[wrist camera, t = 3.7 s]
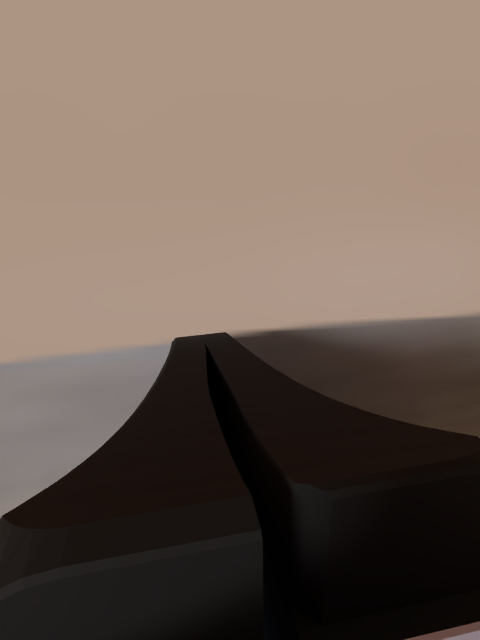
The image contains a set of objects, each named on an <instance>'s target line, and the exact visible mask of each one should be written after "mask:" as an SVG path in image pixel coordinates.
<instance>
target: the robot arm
mask: <svg viewBox="0 0 480 640" xmlns="http://www.w3.org/2000/svg"><path fill="white" fill-rule="evenodd" d="M0 640H480V438H478V437H477V436H471V435H466V434H460V433H455V432H450V431H444V430H439V429H433V428H428V427H422V426H418V425H413V424H409V423H406V422H402V421H398V420H394V419H390V418H386V417H383V416H379V415H376V414H373V413H370V412H366V411H363V410H360V409H358V408H355V407H352V406H349V405H347V404H344V403H341V402H338V401H336V400H333V399H331V398H329V397H326V396H324V395H322V394H320V393H318V392H316V391H313V390H311V389H309V388H307V387H305V386H303V385H301V384H299V383H297V382H296V381H294V380H292V379H290V378H289V377H287V376H285V375H284V374H282V373H280V372H279V371H277V370H275V369H274V368H272V367H271V366H269V365H268V364H266V363H265V362H264V361H262V360H261V359H259V358H258V357H257V356H255V355H254V354H252V353H251V352H250V351H249V350H247V349H246V348H245V347H243V346H242V345H241V344H240V343H238V342H237V341H236V340H235V339H234V338H232V337H231V336H230V335H229V334H227V333H226V332H223V333H214V334H206V335H196V336H187V337H178V338H175V339H174V341H173V342H172V345H171V349H170V352H169V355H168V357H167V359H166V362H165V364H164V366H163V368H162V370H161V372H160V374H159V376H158V377H157V379H156V381H155V383H154V384H153V386H152V387H151V389H150V390H149V392H148V393H147V395H146V397H145V398H144V400H143V401H142V402H141V404H140V405H139V406H138V408H137V409H136V410H135V412H134V413H133V414H132V415H131V416H130V418H129V419H128V420H127V421H126V422H125V424H124V425H123V426H122V427H121V428H120V429H119V430H118V431H117V432H116V433H115V434H114V435H113V436H112V437H111V438H110V439H109V440H108V441H107V442H106V443H105V444H104V445H103V446H102V447H101V448H99V449H98V450H97V451H96V452H95V453H94V454H92V455H91V456H90V457H89V458H87V459H86V460H85V461H84V462H83V463H81V464H80V465H79V466H77V467H76V468H75V469H73V470H72V471H71V472H69V473H68V474H67V475H65V476H64V477H62V478H61V479H60V480H58V481H57V482H55V483H54V484H52V485H51V486H49V487H48V488H46V489H45V490H43V491H41V492H40V493H38V494H37V495H35V496H34V497H32V498H30V499H29V500H27V501H26V502H24V503H23V504H21V505H19V506H18V507H16V508H15V509H13V510H11V511H10V512H8V513H6V514H4V515H3V516H2V517H1V519H0Z"/></svg>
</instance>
